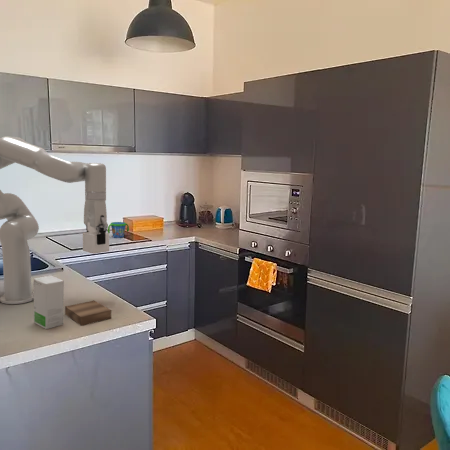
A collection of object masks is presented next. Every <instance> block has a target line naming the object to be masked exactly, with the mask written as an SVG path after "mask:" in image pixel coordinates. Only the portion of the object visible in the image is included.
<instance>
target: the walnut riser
mask: <svg viewBox="0 0 450 450" xmlns="http://www.w3.org/2000/svg"><path fill="white" fill-rule="evenodd" d="M64 310H65V312H64V316H67V317H68V318H70V319H71V320H72V321H74V322H75V323H76V324H78V325H80V326H85V325H88V324H89V323H90V324H94V323H97V321H98V322H101V321H106V320H109V319H112V310H111V309H110V308H109V307H106V306H104V305H103V304H102V303H99V302H98V301H96V300H89V301H86V302H80V303H75V304H70V305H66V306H64ZM105 319H106V320H105ZM93 322H94V323H93Z"/></svg>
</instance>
